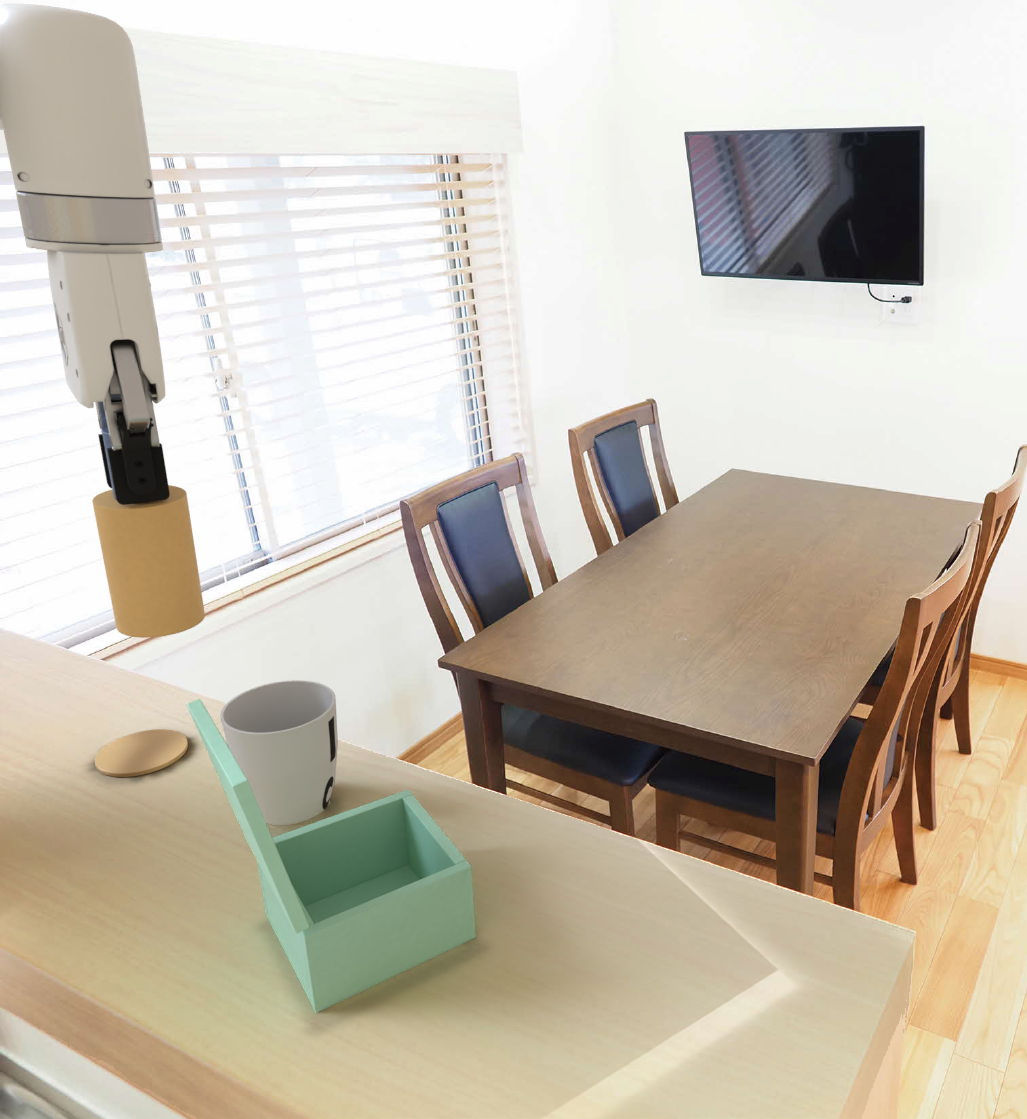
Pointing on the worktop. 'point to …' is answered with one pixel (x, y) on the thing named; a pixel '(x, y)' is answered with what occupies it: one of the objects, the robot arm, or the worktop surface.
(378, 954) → the mint green lidded box
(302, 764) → the cup
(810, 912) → the worktop surface
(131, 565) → the tan cardboard cylinder
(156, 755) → the coaster
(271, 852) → the lid
